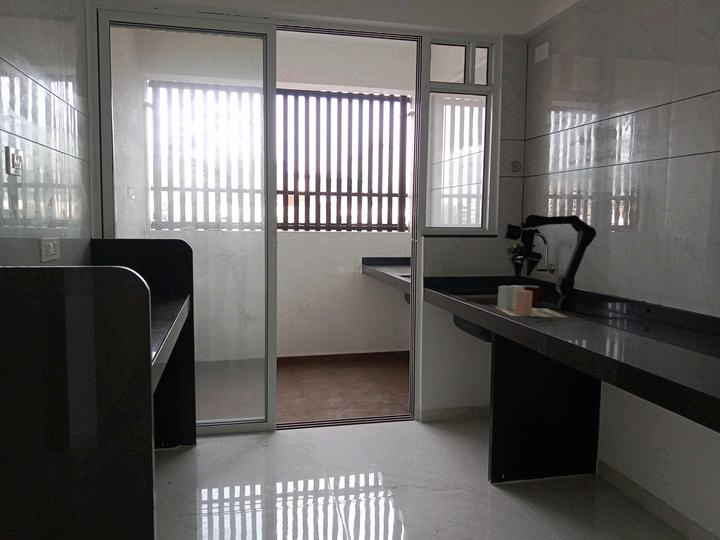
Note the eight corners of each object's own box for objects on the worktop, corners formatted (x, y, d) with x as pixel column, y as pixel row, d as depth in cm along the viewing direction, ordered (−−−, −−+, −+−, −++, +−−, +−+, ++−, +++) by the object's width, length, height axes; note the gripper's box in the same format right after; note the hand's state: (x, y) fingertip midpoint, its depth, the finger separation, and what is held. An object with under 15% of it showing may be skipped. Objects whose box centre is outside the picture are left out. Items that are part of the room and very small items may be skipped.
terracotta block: (521, 313, 235) (523, 290, 234) (531, 315, 232) (532, 291, 231) (515, 314, 233) (516, 290, 232) (524, 316, 229) (526, 291, 228)
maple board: (546, 310, 254) (546, 308, 254) (568, 319, 231) (568, 317, 231) (494, 309, 252) (494, 306, 252) (510, 317, 229) (511, 315, 229)
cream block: (514, 307, 253) (516, 285, 253) (523, 308, 250) (524, 286, 249) (508, 307, 251) (509, 285, 250) (517, 309, 247) (518, 286, 246)
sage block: (503, 307, 250) (505, 285, 249) (512, 309, 247) (513, 286, 246) (497, 308, 247) (498, 286, 246) (505, 310, 244) (507, 287, 243)
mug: (540, 306, 265) (541, 285, 264) (545, 309, 257) (547, 287, 256) (518, 306, 265) (519, 285, 264) (522, 308, 257) (524, 287, 256)
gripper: (500, 241, 258) (495, 274, 256) (522, 235, 240) (517, 271, 238) (522, 246, 260) (517, 279, 258) (545, 241, 242) (540, 276, 240)
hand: (522, 276), depth 249 cm, fingers open, 9 cm apart
